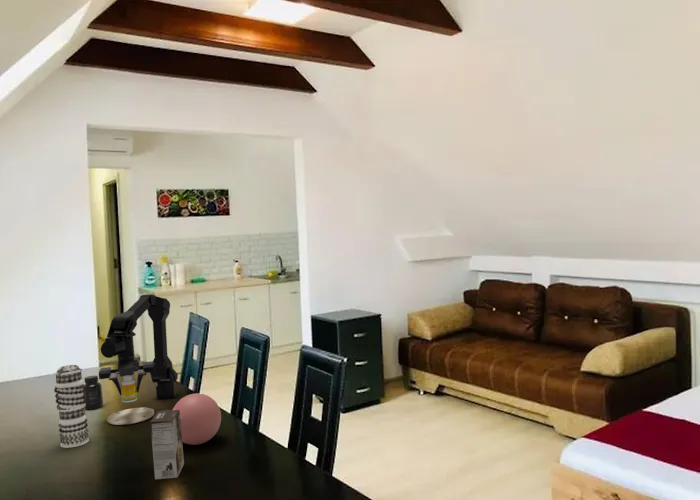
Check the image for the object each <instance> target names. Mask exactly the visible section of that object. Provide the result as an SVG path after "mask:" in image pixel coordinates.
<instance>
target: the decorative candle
mask: <svg viewBox="0 0 700 500" xmlns="http://www.w3.org/2000/svg"><path fill="white" fill-rule="evenodd" d="M82 370H83V369H82V368H80V366H79V365H76V364H69V365H64V366H61V367H59V368H58V369H57V371H56V372H54V375H55V381H56V382H55V386H54V389H53V391H54V393H55V395H54V397H55V403H56V409H57V411H58V412H59V413H58V414H59V418H58V421H59V424H58V428H59V429H58V432H59V435H58V436H59V442H60V447H61V448H65V449H67V448H76V447H80V446H83V445H85V444H87V443H88V442H89V441H90V439H89V437H90V435H89V429H88V423H87V422H88V419H87V417H86V415H87V414H86V412H85V410H86V409H85V408H84V407H85V406H86V404H85V403H86V400H84V398H85V397H86V396H85V395H83V393H84V392H85V391H86V390H85V389H83V388H84V387H85V384H84V380H83V377H82Z"/></svg>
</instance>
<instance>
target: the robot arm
mask: <svg viewBox="0 0 700 500" xmlns="http://www.w3.org/2000/svg"><path fill="white" fill-rule="evenodd" d="M170 309H171V303H170V301H169V300H168V299H167V298H164V297H160V296H157V295H155V294H152V293H151V294H150V293H149V294H142V295H140V296H139V298H138V300H137V301H136V302H133V304H132V306H130V307H129V308H128V309H127V310H126V311H125V312H122V313H119V314H117V315H116V316H114V317H113V318H112V320H111V321H110V322H111V323H110V325H109V328H108V332H107V335H106V338H104V342H103V343H101V347H100V353H101V355H103V357H105V358H107V359H111V358H113V357H115V356H117V368H114V369H113V368H112V366H109V367H101V368H100V369H99V371H98V380H104V379H106V380H107V379H108V380H109V381H112V382H113V384H114V385H115V387H116V389H117V391H118V393H119V396H122V395H121V381H120V378H119V377H121V378H122V377H123V376H126V375H133V374H134V375H135V372H137V380H136V383H137V394H138V393H139V391H140V388H141V382H142V379H143V377H145V376H146V375H147V374H148V373H149V375H150V378H151V380H152V383H153V384H154V383H156V385H155V393H156V397H157V399H158V400H162V399H169V398H175V397H176V393H175V384H174V382H175V383H176V382H177V380H178V376H179V374H178V373H177V372H176V370H175V369H174V367H173V362H172V360H171V358H170V357H169V356H168V337H167V319H168V316H169V315H170V311H171V310H170ZM146 311H147V315H148V317H149V319H150V320H151V321H152V331H153V332H152V333H153V350H154V351H153V353H154V358H153V360H152V361H146V362H143V363H142V365H140V359H136V356H135V345H134V337H135V336H136V334H137V333H135V332H134V330H135V329H136V327H137V326H138V320H139V319H140V318H141V316H142V315H143V314H145V312H146Z"/></svg>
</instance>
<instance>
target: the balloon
mask: <svg viewBox="0 0 700 500" xmlns="http://www.w3.org/2000/svg"><path fill="white" fill-rule="evenodd" d="M172 410H179V411H180V422H181V433H182V443H184V444H187V445H191V446H192V445H193V446H196V445H202V444H204V443H207V442H208V441H210V440H211V439H212V438H213V437H214V436H215V435H216V434H217V432H218V431H219V428H220V426H221V421H222V412H221V408H220V405H218V403H217V402H216V401H215V400H214V399H213V398H212V397H211V396H210V395H207V394H204V393H200V392H199V393H192V394H190V393H189V394H188V395H185V396H183V397H182V398H180V399H179V400H178V402H176V404H175V405H174V406H173V408H172Z"/></svg>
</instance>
